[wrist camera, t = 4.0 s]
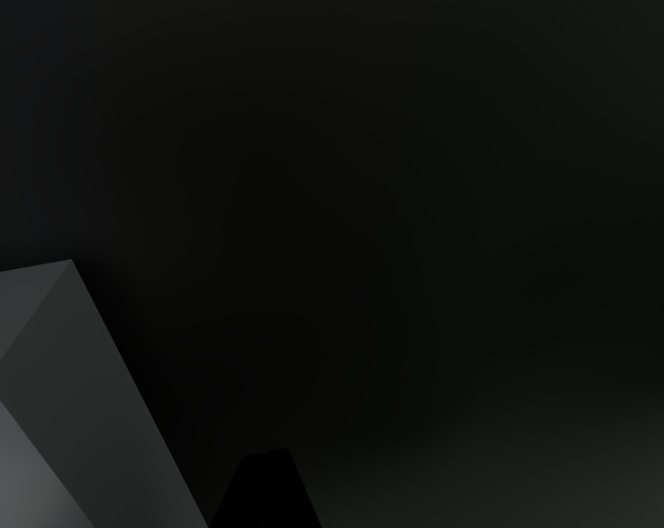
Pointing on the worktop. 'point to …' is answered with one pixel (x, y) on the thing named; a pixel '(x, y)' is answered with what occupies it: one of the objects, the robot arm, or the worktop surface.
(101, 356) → the slate board
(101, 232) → the worktop surface
